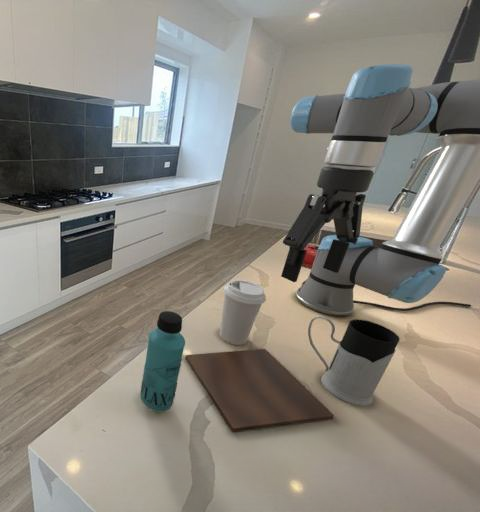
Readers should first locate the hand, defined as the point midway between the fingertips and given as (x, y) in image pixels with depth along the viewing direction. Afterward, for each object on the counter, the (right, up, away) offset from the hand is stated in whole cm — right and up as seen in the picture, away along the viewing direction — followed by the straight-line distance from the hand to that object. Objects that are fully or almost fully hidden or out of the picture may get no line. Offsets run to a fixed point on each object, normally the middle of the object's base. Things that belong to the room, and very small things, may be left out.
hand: (310, 274), depth 61 cm
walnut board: (-11, -24, +2) cm, 26 cm away
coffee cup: (-8, -18, +17) cm, 26 cm away
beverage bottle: (-33, -25, -4) cm, 41 cm away
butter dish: (+48, 0, +70) cm, 85 cm away
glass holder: (+8, -24, +4) cm, 25 cm away
